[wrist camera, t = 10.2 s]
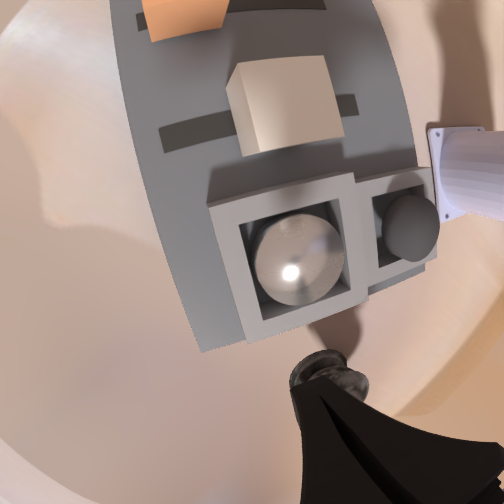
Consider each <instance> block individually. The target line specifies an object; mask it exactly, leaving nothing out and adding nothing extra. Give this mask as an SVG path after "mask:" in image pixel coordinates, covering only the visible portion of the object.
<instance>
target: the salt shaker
mask: <svg viewBox="0 0 504 504" xmlns="http://www.w3.org/2000/svg"><path fill="white" fill-rule="evenodd" d="M322 375H326V376H328V377H329V378H330V379H331V380H332V381H334V382H335V383H336V384H338V385H339V386H340V387H342V388H343V389H344V390H346V391H347V392H349V393H350V394H351V395H353V396H354V397H356V398H357V399H359V400H360V401H362V402H364V401H365V399H366V397H367V394H368V391H369V382H368V379H367V378H366V376H365V375H364V374H362V373H360V372H358V371H354V370H352V369H350V368H348V367H347V362H346V359H345V357H344V356H343V355H342V354H341V353H339V352H338V351H335V350H321V351H318V352H315V353H313V354H311V355H309V356H307V357H306V358H304V359H303V360H302V361H301V362H299V363H298V365H297V366H296V367H295V368H294V370H293V371H292V374H291V375H290V380H289V385H290V388H292V387H293V386H296V385H299V384H301V383H304V382H307V381H309V380H312V379H314V378H317V377H320V376H322Z"/></svg>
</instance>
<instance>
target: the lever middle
mask: <svg viewBox="0 0 504 504" xmlns="http://www.w3.org/2000/svg"><path fill="white" fill-rule="evenodd" d="M226 92H227V96H228V100H229V104H230V108H231V112H232V116H233V120H234V124H235V128H236V132H237V136H238V140H239V144H240V148H241V152H242V156H243V157H244V156H249V155H253V154H257V153H262V152H266V151H271V150H276V149H281V148H286V147H291V146H296V145H301V144H307V143H312V142H317V141H322V140H328V139H333V138H339V137H344V136H345V135H344V131H343V126H342V122H341V118H340V113H339V109H338V105H337V101H336V98H335V94H334V90H333V86H332V83H331V79H330V76H329V72H328V69H327V65H326V62H325V59H324V56H323V55H320V56H298V57H284V58H274V59H264V60H256V61H249V62H242V63H237V65H236V67H235V69H234V71H233V74H232V76H231V78H230V80H229V82H228V84H227V86H226Z"/></svg>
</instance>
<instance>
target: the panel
mask: <svg viewBox="0 0 504 504" xmlns="http://www.w3.org/2000/svg"><path fill="white" fill-rule="evenodd" d="M110 10H111V19H112V28H113V36H114V43H115V50H116V56H117V63H118V69H119V75H120V80H121V86H122V91H123V96H124V102H125V106H126V111H127V116H128V121H129V125H130V130H131V134H132V139H133V143H134V147H135V151H136V155H137V159H138V163H139V167H140V171H141V175H142V179H143V182H144V186H145V190H146V193H147V197H148V200H149V204H150V207H151V211H152V214H153V217H154V221H155V224H156V227H157V231H158V234H159V237H160V240H161V243H162V246H163V250H164V253H165V256H166V259H167V262H168V264H169V267H170V270H171V273H172V276H173V279H174V282H175V285H176V288H177V291H178V293H179V296H180V298H181V301H182V304H183V307H184V310H185V312H186V315H187V318H188V320H189V323H190V325H191V328H192V330H193V333H194V336H195V338H196V340H197V343H198V345H199V348H200V350H201V352H205V351H209V350H212V349H216V348H219V347H223V346H226V345H230V344H233V343H236V342H240V341H243V340H246V341H247V344H249V343H253V342H256V341H259V340H262V339H265V338H268V337H271V336H274V335H277V334H280V333H283V332H286V331H289V330H292V329H295V328H298V327H301V326H303V325H306V324H309V323H312V322H314V321H317V320H320V319H322V318H325V317H328V316H330V315H333V314H336V313H338V312H341V311H343V310H346V309H348V308H351V307H353V306H356V305H358V304H361V303H363V302H366V301H368V296H369V295H371V294H373V293H376V292H378V291H381V290H383V289H385V288H388V287H390V286H392V285H395V284H397V283H399V282H401V281H404V280H406V279H408V278H410V277H413V276H415V275H417V274H419V273H421V272H423V271H425V263H426V262H428V261H430V260H432V259H435V258H437V242H436V244H435V246H434V248H433V249H432V251H431V252H430V253H429V255H428V256H427V257H425V258H424V259H422V260H421V261H418V262H409V261H407V260H405V259H402V258H400V257H398V256H396V255H394V254H392V253H390V252H389V251H388V250H387V248H386V247H385V245H384V242H383V239H382V234H381V225H382V219H383V216H384V213H385V211H386V209H387V207H388V205H389V204H390V203H391V202H392V201H393V200H394V199H395V198H396V197H398V196H401V195H405V194H406V195H413V196H419V197H424V198H427V199H429V200H430V201H431V202H432V203H433V204H434V205H435V199H434V188H433V179H432V170H431V167H418V163H417V156H416V150H415V144H414V139H413V133H412V128H411V123H410V119H409V114H408V110H407V105H406V101H405V97H404V93H403V89H402V86H401V82H400V78H399V75H398V72H397V68H396V65H395V62H394V59H393V55H392V52H391V49H390V46H389V44H388V41H387V38H386V35H385V32H384V30H383V27H382V25H381V22H380V20H379V17H378V15H377V12H376V10H375V7H374V5H373V3H372V1H371V0H229V4H228V7H227V11H226V14H225V17H224V21H223V25H222V28H217V29H210V30H205V31H199V32H194V33H189V34H184V35H180V36H176V37H171V38H167V39H163V40H159V41H156V42H151V38H150V34H149V30H148V26H147V22H146V18H145V14H144V10H143V5H142V0H110ZM320 55H323V56H324V59H325V62H326V65H327V69H328V72H329V76H330V79H331V83H332V86H333V90H334V94H335V98H336V101H337V105H338V109H339V113H340V118H341V122H342V126H343V131H344V135H345V136H344V137H339V138H333V139H328V140H322V141H317V142H312V143H307V144H301V145H296V146H291V147H286V148H281V149H276V150H271V151H266V152H262V153H257V154H253V155H249V156H244V157H243V156H242V152H241V148H240V144H239V140H238V136H237V132H236V128H235V124H234V120H233V116H232V112H231V108H230V104H229V100H228V96H227V92H226V86H227V84H228V82H229V80H230V78H231V76H232V74H233V71H234V69H235V67H236V65H237V63H242V62H249V61H256V60H264V59H274V58H284V57H298V56H320ZM292 211H299V212H305V213H308V214H311V215H314V216H316V217H319V218H321V219H324V220H325V221H327V222H328V223H330V224H331V225H332V226H333V227H334V228H335V229H336V231H337V232H338V233H339V235H340V237H341V240H342V243H343V247H344V264H343V268H342V271H341V274H340V276H339V278H338V280H337V282H336V283H335V285H334V286H333V287H332V288H331V289H330V291H329V292H327V293H326V294H325V295H324V296H322V297H321V298H319V299H318V300H316V301H314V302H311V303H308V304H305V305H287V304H283V303H280V302H278V301H276V300H275V299H273V298H272V297H271V296H269V295H268V294H267V292H266V291H265V290H264V288H263V287H262V285H261V284H260V282H259V281H258V279H257V278H256V276H255V274H254V271H253V268H252V264H251V250H252V246H253V243H254V240H255V238H256V236H257V234H258V232H259V231H260V229H261V228H262V227H263V226H264V225H265V224H266V223H267V222H268V221H269V220H271V219H272V218H274V217H276V216H278V215H280V214H283V213H286V212H292Z"/></svg>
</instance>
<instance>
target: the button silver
mask: <svg viewBox="0 0 504 504" xmlns="http://www.w3.org/2000/svg"><path fill="white" fill-rule="evenodd" d="M251 264H252V268H253V271H254V274H255V276H256V278H257V279H258V281H259V282H260V284H261V285H262V287H263V288H264V290H265V291H266V292H267V294H268V295H269V296H271V297H272V298H273V299H275V300H276V301H278V302H280V303H283V304H287V305H305V304H308V303H311V302H314V301H316V300H318V299H319V298H321V297H322V296H324V295H325V294H326V293H327V292H329V291H330V289H331V288H332V287H333V286H334V285H335V283H336V282H337V280H338V278H339V276H340V274H341V271H342V268H343V264H344V247H343V243H342V240H341V237H340V235H339V233H338V232H337V231H336V229H335V228H334V227H333V226H332V225H331V224H330V223H328V222H327V221H325V220H324V219H321V218H319V217H316V216H314V215H311V214H308V213H305V212H299V211H292V212H286V213H283V214H280V215H278V216H276V217H274V218H272V219H271V220H269V221H268V222H267V223H266V224H265V225H264V226H263V227H262V228H261V229H260V231H259V232H258V234H257V236H256V238H255V240H254V243H253V246H252V250H251Z"/></svg>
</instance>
